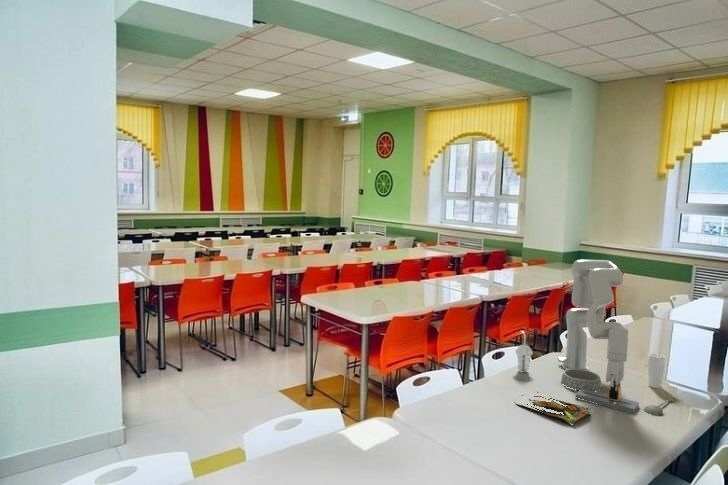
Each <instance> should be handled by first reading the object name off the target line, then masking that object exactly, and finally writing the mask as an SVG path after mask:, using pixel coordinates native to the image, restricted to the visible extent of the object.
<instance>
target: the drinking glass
mask: <svg viewBox="0 0 728 485" xmlns="http://www.w3.org/2000/svg"><path fill="white" fill-rule="evenodd" d="M665 365H666V357H665V355H663V354H661V353H651V352H650V353H648V358H647V372H648V373H647V374H648V375H647V376H648V378H647V379H648V384H647V385H648V386H649V387H650V388H653V389H660V388H662V384H663V383H662V382H663V378H664V371H665Z"/></svg>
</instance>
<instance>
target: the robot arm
mask: <svg viewBox="0 0 728 485" xmlns="http://www.w3.org/2000/svg"><path fill="white" fill-rule="evenodd" d="M571 269H572V270H571V271H572V272H571V273H572V276H573V277H572V278H573V284H572V285H573V286H572V293H571V304H572V305H573V306H575V307H573V308H570V309H568V310H567V311H566V314H565V319H566V327H567V328H566V329H567V331H566V335H567V336H566V349H565V350H566V351H565V352H566V353H565V354H566V355H565V357H561V356H558V358H557V360H558V362H560V363H563V364H562V368H563V369H564V370H567V369H582V370H587V371H590V367H589V366H587V351H588V350H587V349H588V335H587V333H586V332H585V329H583V328H587V329H588V332H589V335H590V337H591V338H592V339H594V340H595V339H596V340H607V352H606V359H607V360H608V362H607V364H606V365H607V367H606V373H605V374H606V375H605V383H609V385H610V389H609V388H608V395H609V398H610V399H614V400H617V399H618V391H617V387H618V385H619V386H621V382H622V381H623V380H624V375H625V362H627V361H628V360H627V359H628V346H629V345H628V344H629V330H628V328H625V327H624V325H623V324H622V323H621V322H617V321H616V322H615V321H604V318H605V312H606V311H605V310H606V306H608V305H611V304H612V303H613V302H614V300H615V297H614V293H613V290H612V287H617V288H618V287H620V286H622V284H623V282H624V276H623V272H622V271H621V269H619V267H618V266H617V265H616V264H614V263H613V262H612V261H610V260H606V259H577V260H575V261H574V262H573V263H572V266H571ZM614 385H616V387H615V386H614Z"/></svg>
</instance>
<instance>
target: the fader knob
mask: <svg viewBox="0 0 728 485" xmlns="http://www.w3.org/2000/svg"><path fill="white" fill-rule="evenodd" d="M614 386H615V387H616V385H614ZM609 389H610V384H609V385H608V390H609ZM617 391H618V399H617V400H614V399H610V398H609V396H608V399H610V400H614V401H618V402H619V401H620V398H621V397H622V396H621V395H622V394H621V393H622V386H621V385H620V386H619V385H618V387H617Z"/></svg>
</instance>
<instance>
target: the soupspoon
mask: <svg viewBox="0 0 728 485" xmlns="http://www.w3.org/2000/svg"><path fill="white" fill-rule="evenodd" d="M669 402H670V403H674V399H673V398H669V399H666V400H664V401H663V402H661V403H659V404H658V405H653V404H652V405H647V406H645V407H644V409H643V412H644V413H645V412H646V413H645V414H647V413H648V415H650V414H651V415H650V416H655V417H659V416H661V415H662V414H663V412H664V411H663V409H662V407H661V406H663V405H665V404H666V403H669Z"/></svg>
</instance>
